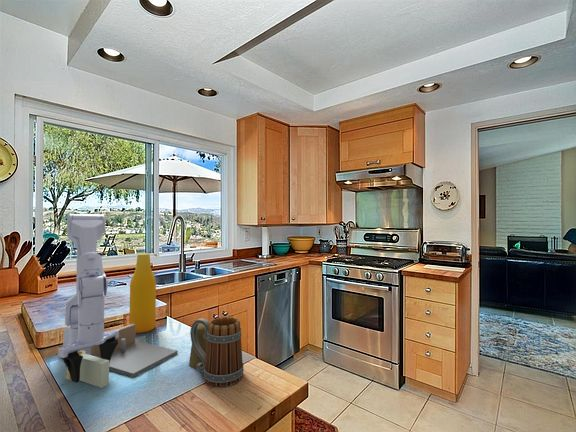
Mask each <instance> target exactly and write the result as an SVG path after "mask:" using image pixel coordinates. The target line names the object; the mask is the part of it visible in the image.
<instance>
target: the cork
mask: <svg viewBox="0 0 576 432" xmlns="http://www.w3.org/2000/svg"><path fill="white" fill-rule="evenodd" d="M205 333H206V329H205V326H204V325H203V324H198V326H197V339H198V342H199V345H200V346H201V348H202V349H203V351H204V352H205V353H206V348H207V338H206V339H205V338H204V337H203V336H204V335H205ZM189 353H190V354H189V362H188V366H189V367H190V368H193V369H194V368H195V369H198V368H197V364H198V363H200V362H202V360H201V358H200V357H199V355H198V354H197V353H196V351H195V349H194V348H193V345H192V344H191V348H190V352H189ZM202 363H203V362H202Z"/></svg>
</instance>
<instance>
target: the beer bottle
mask: <svg viewBox="0 0 576 432" xmlns="http://www.w3.org/2000/svg"><path fill="white" fill-rule="evenodd" d="M136 255H137V257H136V262H135V263H136V265H135V270H134V273H133V275H132V277H131V279H130V283H129V319H128V320H129V322H128V323H129V324H128V325H130V324H136V326H135V334H143V333H147V332H150V331H152V330H154V329H155V328H156V322H157V321H156V318H157V317H156V316H157V315H156V313H157V312H156V310H157V309H156V307H157V306H156V305H157V302H156V301H157V293H156V292H157V281H156V277H155V274H154V272H153V270H152V265H151V257H150V256H151V255H150V253H138V254H136Z"/></svg>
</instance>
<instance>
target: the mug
mask: <svg viewBox="0 0 576 432" xmlns="http://www.w3.org/2000/svg"><path fill="white" fill-rule="evenodd" d="M200 324H203V325H204V326H205V329H206V333H205V335H204V336H203V337H204V338H205V339H206V338H207V348H206V353H205V352H204V351H203V349H202V348H201V346H200V345H199V342H198V339H197V326H198V325H200ZM189 336H190V341H191V346H192V345H193V348H194V349H195V351H196V353H197V354H198V355H199V357H200V358H201V360H202V362H203V363H202V362H200V363H198V364H197V368H196V369H198V371H199V372H203V380H204V382H205V383H206V384H208V385H210V386H211V387H217V388H223V387H224V388H225V387H230V386H232V385H235V384H237V383H238V382H239V381H240V380H242V379H243V376H244V367H245V366H244V363H243V347H242V328H241V322H240V319H238V318H237V317H233V316H229V317H228V316H222V317H216V318H213V319H211V320H210V321H209V320H208V319H206V318H202V317H201V318H199V319H196V320H195V321H193V322H192V324H191V326H190V335H189Z"/></svg>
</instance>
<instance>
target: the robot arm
mask: <svg viewBox="0 0 576 432" xmlns="http://www.w3.org/2000/svg"><path fill="white" fill-rule="evenodd" d="M105 232H106V216H105V215H104V214H102V213H101V214H92V213H91V214H86V213H85V214H84V213H83V214H82V213H81V214H80V213H79V214H77V213H69V214H67V217H66V237H67V240H68V241H70V242H73V243H74V244H75V247H76V282H75V283H76V287H75V288H76V291H75V292H76V293H74V295H72V296H71V297H70V298H68V299H67V300H66V302H65V308H64V325H65V326H66V328H65V329H64V331H63V333H62V334H63V337H62V340H63V341H62V342H63V343H62V345H63V346H62V347H60V348H58V358H61V360H62V361H63V363H64V364H65V366H66V369H67V368H68V371H69V373H70V377H71V380H70V381H71V382H72V383H75V384H77V383H78V382H80V366H81V362H82V358H83V356H81V355H79V353H78V351H81V350H83V351H86V354H88V355H91V346H94V345H99V348H100V358H102V359H106V360H109V363H110V359H111V356H112V354H113V352H114V350H115V348H116V346H117V345H118V340H116V339H115V338H118V337H119V331H118V330H116V329H112V330H109V331H108V330H107V331H105V297H106V296H107V293H108V280H107V276H106V273H105V271H104V267H103V257H102V255H100V254H99V253H97V252H98V250H97V248H98V247H97V246H98V245H97V244H98V241H99V240H102V237H103V236H104V233H105Z"/></svg>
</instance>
